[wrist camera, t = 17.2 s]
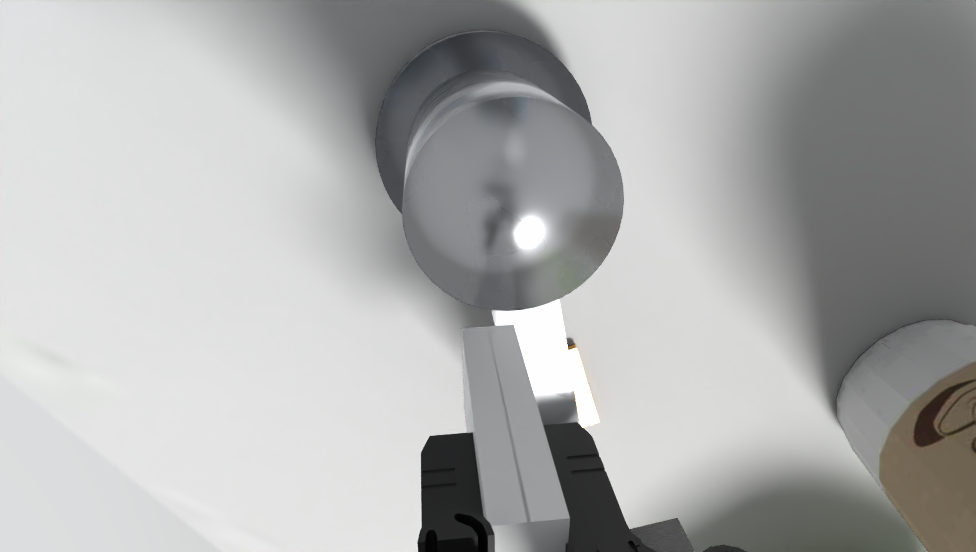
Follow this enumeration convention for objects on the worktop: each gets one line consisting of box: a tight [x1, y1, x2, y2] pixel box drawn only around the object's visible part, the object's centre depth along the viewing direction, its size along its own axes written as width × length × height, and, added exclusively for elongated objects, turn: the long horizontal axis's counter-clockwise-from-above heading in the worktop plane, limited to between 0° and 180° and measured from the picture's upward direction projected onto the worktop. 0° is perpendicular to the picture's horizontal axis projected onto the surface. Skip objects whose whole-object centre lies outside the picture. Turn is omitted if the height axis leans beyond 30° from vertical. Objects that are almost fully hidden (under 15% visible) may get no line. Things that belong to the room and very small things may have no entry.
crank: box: [402, 69, 694, 552], centre depth 17 cm, size 15×6×8 cm, turn 12°
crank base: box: [376, 30, 599, 427], centre depth 21 cm, size 16×7×1 cm, turn 18°
